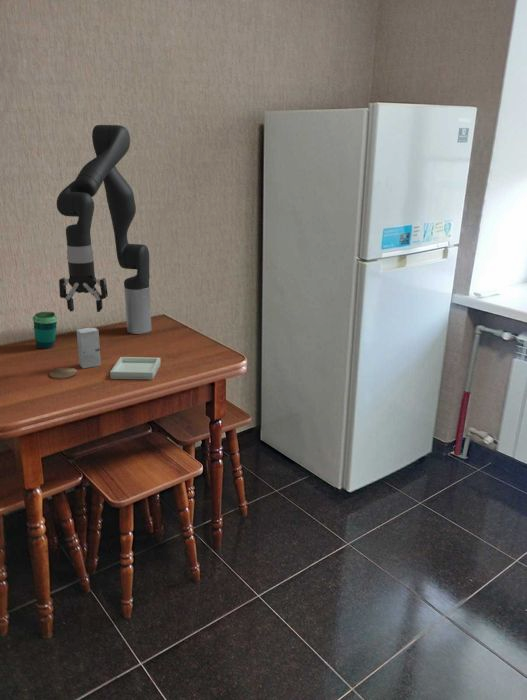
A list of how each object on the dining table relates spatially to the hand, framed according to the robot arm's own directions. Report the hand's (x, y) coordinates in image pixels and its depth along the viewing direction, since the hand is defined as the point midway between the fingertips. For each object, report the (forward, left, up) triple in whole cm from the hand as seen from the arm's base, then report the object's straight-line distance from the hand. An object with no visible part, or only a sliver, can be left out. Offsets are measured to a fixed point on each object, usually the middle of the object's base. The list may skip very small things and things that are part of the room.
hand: (85, 311), depth 178 cm
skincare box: (0, 0, -18) cm, 18 cm away
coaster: (+8, -6, -18) cm, 21 cm away
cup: (-17, -20, -18) cm, 32 cm away
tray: (+4, +16, -18) cm, 25 cm away
